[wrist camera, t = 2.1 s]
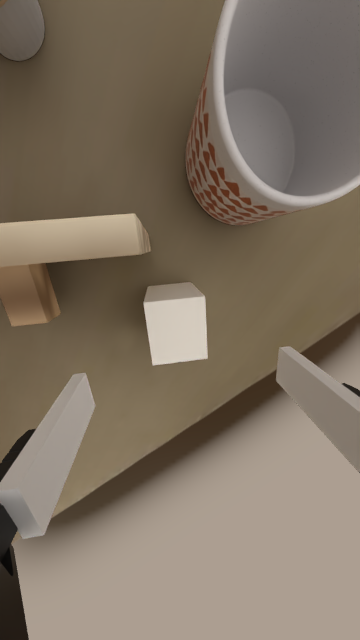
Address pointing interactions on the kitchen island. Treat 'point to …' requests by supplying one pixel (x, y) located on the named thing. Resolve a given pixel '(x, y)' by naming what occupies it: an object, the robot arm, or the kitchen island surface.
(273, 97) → the planter
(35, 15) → the coffee cup
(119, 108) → the kitchen island surface
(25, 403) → the kitchen island surface
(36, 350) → the kitchen island surface
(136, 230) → the wooden board
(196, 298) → the cabinet
